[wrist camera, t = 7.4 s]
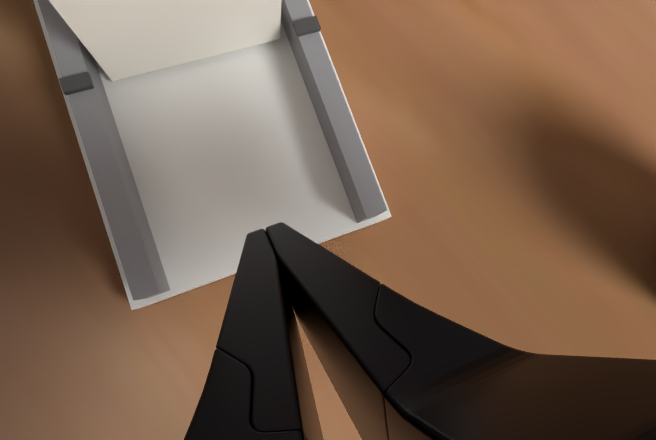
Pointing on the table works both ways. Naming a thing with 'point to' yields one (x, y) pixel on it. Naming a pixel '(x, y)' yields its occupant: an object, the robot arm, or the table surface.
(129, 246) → the grey and white holder
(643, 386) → the robot arm
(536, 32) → the table surface
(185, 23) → the cream and pink block
